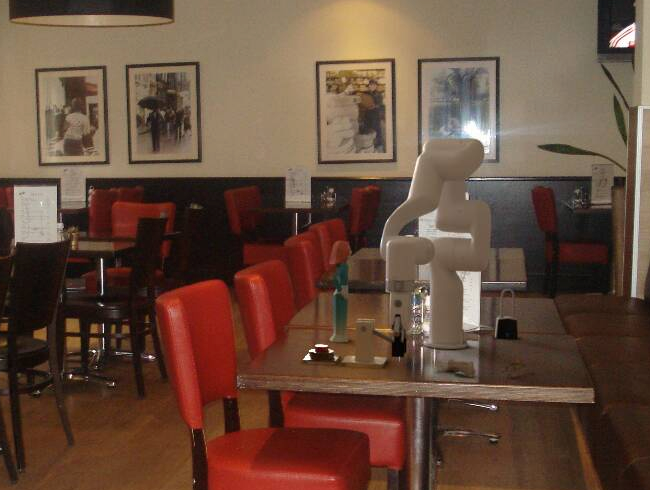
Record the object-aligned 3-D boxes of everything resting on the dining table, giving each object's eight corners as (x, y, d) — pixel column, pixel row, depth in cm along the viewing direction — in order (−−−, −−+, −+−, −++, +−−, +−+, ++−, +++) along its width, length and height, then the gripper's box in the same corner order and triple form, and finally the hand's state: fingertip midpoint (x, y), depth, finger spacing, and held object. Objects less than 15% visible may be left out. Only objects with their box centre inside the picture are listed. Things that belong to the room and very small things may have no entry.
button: (329, 351, 282) (329, 344, 282) (327, 353, 279) (327, 347, 278) (316, 350, 283) (316, 344, 283) (313, 353, 280) (314, 346, 279)
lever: (400, 348, 277) (404, 340, 277) (398, 351, 272) (402, 343, 272) (359, 327, 280) (363, 319, 279) (356, 330, 275) (360, 322, 275)
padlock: (517, 336, 318) (518, 288, 317) (518, 339, 314) (520, 289, 312) (494, 336, 319) (495, 287, 318) (495, 338, 315) (497, 289, 314)
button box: (340, 359, 284) (340, 349, 283) (335, 365, 276) (336, 354, 276) (308, 358, 286) (308, 347, 286) (302, 363, 278) (302, 352, 278)
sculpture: (349, 344, 306) (350, 242, 303) (326, 343, 307) (327, 242, 304) (352, 336, 318) (353, 238, 315) (330, 336, 320) (331, 238, 317)
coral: (437, 370, 270) (437, 353, 269) (478, 374, 265) (478, 357, 264) (431, 374, 265) (431, 357, 264) (472, 378, 260) (472, 361, 259)
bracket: (387, 362, 281) (387, 318, 279) (383, 368, 272) (383, 324, 271) (346, 359, 284) (347, 316, 283) (341, 366, 275) (341, 322, 274)
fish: (504, 380, 258) (505, 360, 258) (499, 379, 260) (499, 359, 259) (534, 374, 265) (535, 354, 265) (528, 373, 266) (529, 353, 266)
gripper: (411, 291, 264) (410, 361, 266) (417, 282, 280) (416, 349, 282) (381, 290, 266) (380, 360, 268) (389, 281, 282) (388, 348, 284)
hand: (399, 354), depth 275 cm, fingers closed on lever, 5 cm apart
